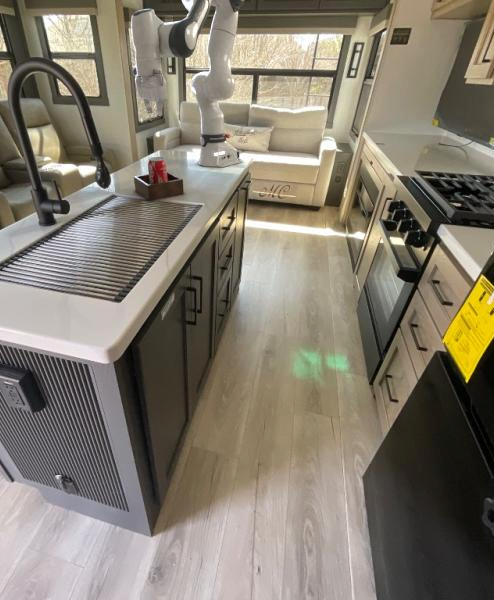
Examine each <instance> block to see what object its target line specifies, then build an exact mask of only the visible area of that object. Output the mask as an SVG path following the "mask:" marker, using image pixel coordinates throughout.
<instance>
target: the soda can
mask: <svg viewBox="0 0 494 600" xmlns="http://www.w3.org/2000/svg"><path fill="white" fill-rule="evenodd" d="M147 172H148V174H149V181H150V184H156V183H162V182H168V180H167V172H168V170H167V162H166V161H165V158H164V157H162V156H154V157H150V158H148V162H147Z"/></svg>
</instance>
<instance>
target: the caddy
mask: <svg viewBox="0 0 494 600" xmlns="http://www.w3.org/2000/svg"><path fill="white" fill-rule="evenodd" d="M167 180H168V182H162V183H156V184H150V181H149V173H145V174H141V175H134V176H133V182H134V189H135V192H137V193H138V194H140V195H141V196H142V197H144V198H145V199H147V200H148V201H154V200H160V199H165V198H170V197H171V198H172V197H176V196H181V195H184V193H185V191H184V179H183V178H181V177H179V176H177V175H175V174H173V173H171V172H169V171H167Z"/></svg>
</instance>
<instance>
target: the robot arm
mask: <svg viewBox="0 0 494 600" xmlns="http://www.w3.org/2000/svg"><path fill="white" fill-rule="evenodd" d="M245 1H246V0H181V2H182V5H183V6H184V8H185V9H186V10H187V11H188V13H187V15H186V16H185V18H183V19H181V20H178V21H171V22H164V21H163V20H161V19H160V18H159V17H158V16H157V15H156V13H155V10H154V9H153V8H144V9H140V10H136V11H134V12H133V13H132V14H131V23H130V25H131V37H132V44H133V48H134V51H135V56H134V59H135V65H134V67H133V68H132V74H133V76H134V77H135V78H134V82H135V87H136V93H137V96H138V98H139V99H140V100H143V104H144V107H145V110H146V113H147V114H152V113H153V108H152V107H151V102H155V105H156V110H155V112H156V114H155V115H156V116H158V117H160V116H163V108H164V103H165V102H168V100H169V93H168V92H169V91H168V86H167V81H166V78H165V76H164V74H163V68H162V67H163V65H162V58H165V59H166V58H169V59H170V58H171V59H172V58H180V59H188V58H190V57H191V56H192V55H193V54H194V52H195V49H196V47H197V43H198V39H199V36H200V34H201V32H202V29H203V27H204V25H205V23H206V21H207V19H208V16H209V14H210V11H211V8H212V7H215V12H214V15H213V18H212V21H211V25H210V26H211V27H210V31H209V36H208V41H207V47H206V55H207V57H208V59H209V70H208V71H201V72H200V71H199V72H197V73H196V74H194V76H192V79H191V82H190V89H191V92H192V94H193V95H194V97H195V99H196V102H197V106H198V109H199V110H198V111H199V116H200V134H199V135H200V136H199V137H200V141H199V142H200V154H199V159H198V165H200V166H204V167H212V168H213V167H215V168H224V167H229V166H232V165H236V164H240V163H242V159H241V158H240V151H238V150H237V148H235V147H234V146H233V145H232V144H231V143H229V141H227V139H230V137H231V134H230V133H225V132H224V131H225V130H224V129H225V116H224V113H223V111H222V110H221V107H220V106H219V102H223V101H225V100H226V101H227V100H228V99H230V98H232V97H233V95H234V94H235V90H236V82H235V79H234V76H233V75H232V65H231V64H232V55H233V50H234V44H235V40H236V35H237V30H238V22H239V10H240V9H241V7H242V6H243V4H244V3H245Z"/></svg>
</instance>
